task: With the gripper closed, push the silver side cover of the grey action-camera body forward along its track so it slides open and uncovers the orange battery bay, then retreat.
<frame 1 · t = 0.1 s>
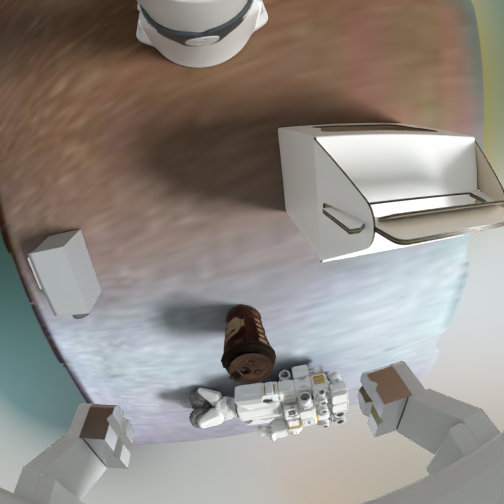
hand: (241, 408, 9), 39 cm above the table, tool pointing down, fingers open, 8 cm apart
side door: (41, 266, 43), point 4 cm above the table, slide at 0.0 cm
gable box: (347, 163, 45), on the table
spaceship: (265, 387, 66), on the table
camera body: (74, 263, 47), on the table
coffee cup: (242, 317, 56), on the table
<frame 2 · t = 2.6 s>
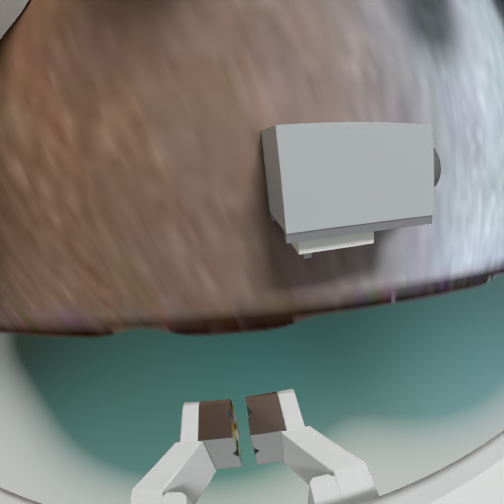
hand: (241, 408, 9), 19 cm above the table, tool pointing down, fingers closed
side door: (327, 233, 24), point 4 cm above the table, slide at 0.0 cm
camera body: (332, 165, 25), on the table
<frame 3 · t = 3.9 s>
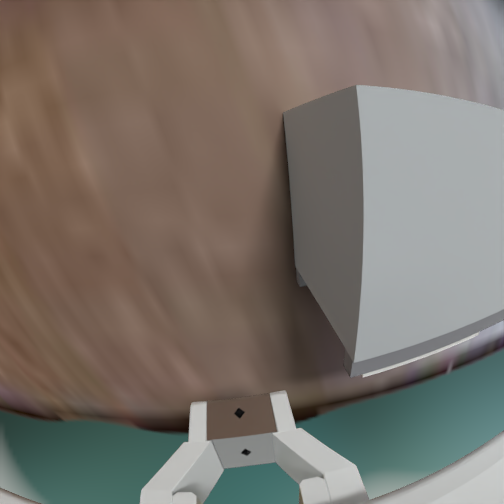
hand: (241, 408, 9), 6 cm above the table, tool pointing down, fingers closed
side door: (403, 315, 12), point 4 cm above the table, slide at 0.0 cm
camera body: (404, 183, 13), on the table
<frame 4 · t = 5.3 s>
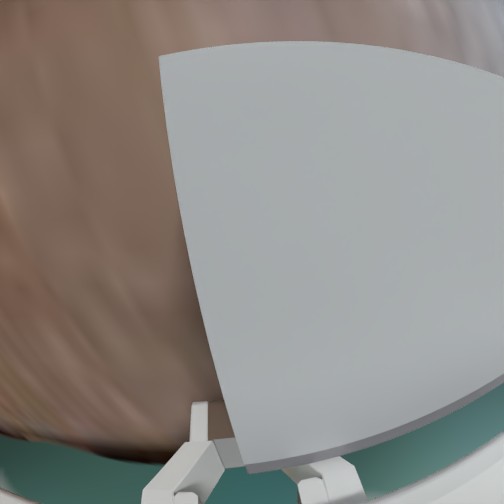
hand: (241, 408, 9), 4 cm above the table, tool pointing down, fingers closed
camera body: (374, 195, 11), on the table
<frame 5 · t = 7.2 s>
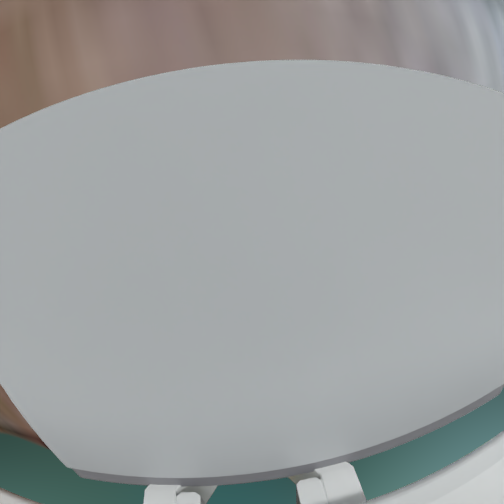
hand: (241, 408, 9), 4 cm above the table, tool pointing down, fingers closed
camera body: (261, 217, 10), on the table
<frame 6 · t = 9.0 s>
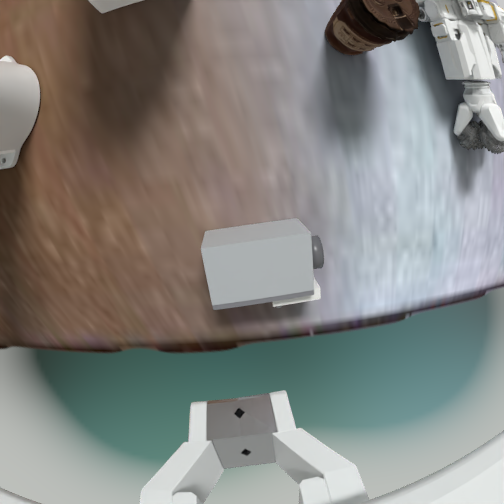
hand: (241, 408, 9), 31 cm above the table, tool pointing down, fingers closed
side door: (293, 290, 39), point 4 cm above the table, slide at 6.0 cm
spaceship: (449, 47, 32), on the table
camera body: (254, 249, 40), on the table
coffee cup: (346, 37, 31), on the table
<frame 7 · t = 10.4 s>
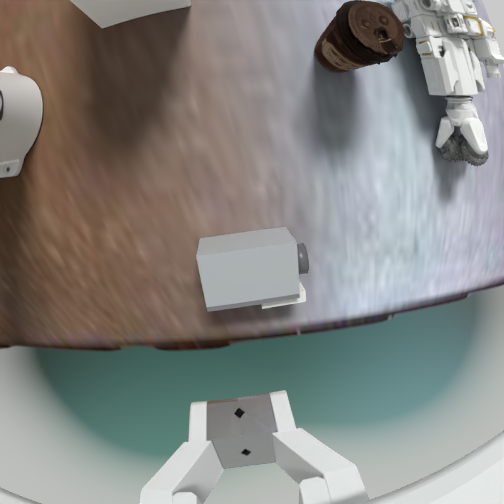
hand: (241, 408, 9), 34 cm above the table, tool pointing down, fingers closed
side door: (280, 293, 42), point 4 cm above the table, slide at 6.0 cm
spaceship: (435, 61, 36), on the table
camera body: (245, 255, 44), on the table
coffee cup: (335, 54, 35), on the table
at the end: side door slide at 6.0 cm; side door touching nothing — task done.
